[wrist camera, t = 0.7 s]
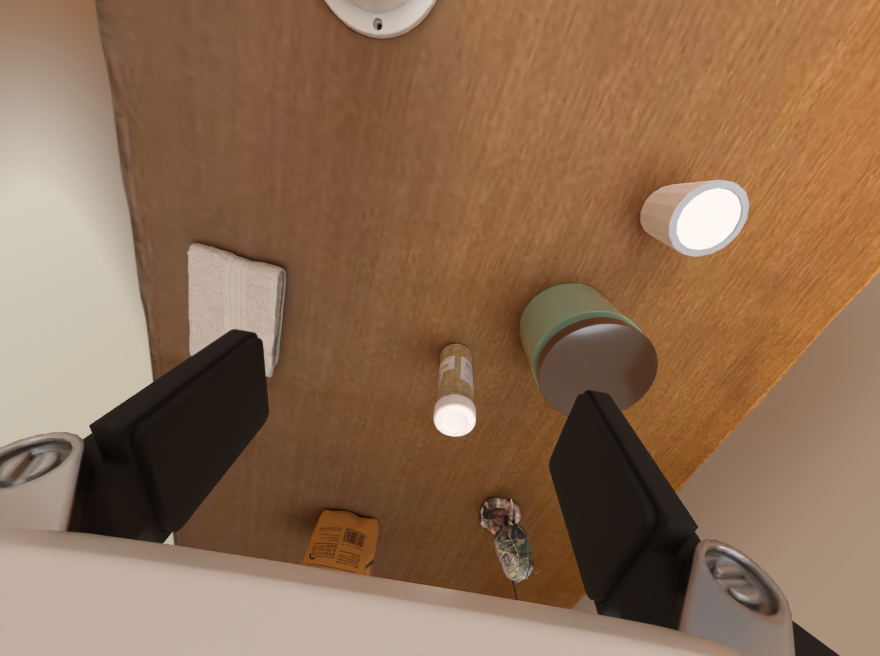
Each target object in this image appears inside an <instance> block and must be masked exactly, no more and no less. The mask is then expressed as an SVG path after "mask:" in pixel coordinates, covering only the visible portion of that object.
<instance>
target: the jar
mask: <svg viewBox="0 0 880 656" xmlns="http://www.w3.org/2000/svg"><path fill="white" fill-rule="evenodd" d="M519 335H520V340H521V342H522V345H523V348H524V351H525V354H526V357H527V360H528V362H529V365H530V368H531V371H532V374H533V377H534V379H535V382H536V383H537V385H538V387H539V388H540V391H541V394H542V395H543V397H544V399H545V400H546V401H547V403H548V404H549V405H550V406H551V407H552V408H554V409H555V410H557V411H558V412H560V413H562V414H564V415H567V416H569V414H570V412H571V409H572V407H573V405H574V402H575V400H576V398H577V396H578V395H579V394H583V393H584V392H585V391H586V390H592V391H598V392H604V393H608V394H609V395H610V396H611V397H612V399H613V400H614V402H615V403H616V405H617V406H618V408H619V409H620V411H621V412H622V411H624V410H626V409H627V408H629V407H631V406H632V405H634V404H635V403H636V402H638V401H639V400H640V399H641V398H642V397H643V396H644V395H645V394H646V392H647V391H648V390H649V388H650V387H651V385H652V383H653V381H654V379H655V376H656V373H657V368H658V359H657V354H656V351H655V348H654V346H653V345H652V343H651V342H650V340H649V339H648V338H647V337H646V336H645V335H644V334H643V333H642V332H641V330H640V329H639V327H638V326H637V325H636V324H635V323H634V322H633V321H631V320H630V319H629V318H628V317H627V316H626V315H625V314H624V313H622V312H621V311H620V310H619V309H618V308H617V307H616V306H614V305H613V304H612V303H611V302H610V301H609V300H608V299H607V298H605V297H604V296H603V295H602V294H601V293H600V292H599V291H597V290H596V289H594V288H592V287H590V286H587V285H583V284H578V283H566V284H560V285H556V286H553V287H550V288H548V289H546V290H544V291H543V292H541V293H539V294H538V295H537V296H536V297H534V298H533V299H532V300H531V301H530V302H529V304H528V305H527V306H526V308H525V310H524V311H523V313H522V316H521V319H520V323H519Z"/></svg>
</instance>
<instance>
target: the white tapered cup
mask: <svg viewBox="0 0 880 656" xmlns="http://www.w3.org/2000/svg"><path fill="white" fill-rule="evenodd" d="M748 210H749V201H748V198H747V195H746V191H745V190H743V189H742V188H741V187H740V186H739V185H738V184H736V183H735V182H730V181H724V180H714V181H703V182H692V183H681V184H672V185H667V186H663V187H661V188H660V189H658V190H656V191H655V192H653V193H652V194H651V195H650V196H649V197H648V199H647V200H646V201H645V202H644V205H643V207H642V209H641V212H640V223H641V225H642V228H643V230H644V231H645V232H647V233H648V234H649V235H651V236H652V237H654V238H656V239H658V240H659V241H661V242H663V243H664V244H666V245H668V246H670V247H671V248H673V249H675V250H677V251H678V252H680V253H682V254H684V255H689V256H695V257H698V256H703V255H708V254H712V253H714V252H716V251H718V250H720V249H722V248H723V247H725V246H727V245H728V244H729V243H730V242H731V241H732V240H733V239H734V238H735V237H736V236H737V235H738V234H739V233H740V231H741V229H742V227H743V226H744V224H745V222H746V220H747V216H748Z"/></svg>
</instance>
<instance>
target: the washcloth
mask: <svg viewBox="0 0 880 656" xmlns="http://www.w3.org/2000/svg"><path fill="white" fill-rule="evenodd" d="M187 254H188V256H189V257H188V268H189V269H188V274H189V279H188V283H189V292H188V293H189V299H188V300H189V301H188V304H189V324H190V328H189V329H190V331H189V332H190V342H189V344H190V345H189V348H190V352H189V353H190V355H191V356H193V355H194V354H196V353H197V352H199V351H200V350H202V349H203V348H205V347H206V346H208V345H209V344H211V343H212V342H214V341H215V340H217V339H218V338H219V337H221V336H222V335H224V334H225V333H227V332H228V331H230V330H232V329H238V330H244V331H249V332H254V333H256V334H257V336H258V338H260V339H262V341H263V348H264V360H265V372H266V377H271V376H272V375H273V372H274V371H273V369H274V367H275V366H276V364H277V362H278V358H279V351H280V337H281V331H282V322H283V308H284V298H285V289H286V271H285V270H284V269H283V268H280V267H278V266H275V265H272V264H267V263H264V262H257V261H250V260H248V259H244V258H242V257H238V256H236V255H235V254H234V253H230V252H227V251H224V250H220V249H218V248H214V247H212V246H211V247H210V246H206V245H202V244H199V243H193V244H192V245H191V246H190V247H189V251H187Z"/></svg>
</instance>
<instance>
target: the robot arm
mask: <svg viewBox="0 0 880 656" xmlns="http://www.w3.org/2000/svg"><path fill="white" fill-rule="evenodd" d="M325 1H326V3H327V5H328V6H329V7H330V8H331V10H332V11H333V12H334V13H335V15H336V16H337V17H338V18H339V19H341V20H342V21H343V22H344V23H345V24H346V25H347V26H348V27H350V28H352V29H353V30H355V31H356V32H358V33H360V34H363V35H366V36H368V37H372V38H381V39H385V38H393V37H397V36H400V35H402V34H405V33H407V32H409V31H410V30H412V29H413V28H414V27H416V26H417V25H419V24H420V23H421V21H422V20H423V19H424V18H425V17H426V16H427V15H428V14H429V12H430V11H431V9H432V8H433V6H434V5H435V3H436V2H437V0H325ZM378 25H382V28H381V29H380V30H378V29H377V27H378ZM268 414H269V407H268V395H267V383H266V372H265V360H264V348H263V341H262V339H260V338H258V336H257V334H256V333H254V332H249V331H244V330H238V329H232V330H230V331H228V332H227V333H225V334H224V335H222V336H221V337H219V338H218V339H217V340H215V341H214V342H212V343H211V344H209V345H208V346H206V347H205V348H203V349H202V350H200V351H199V352H197V353H196V354H194V355H193V356H191V357H190V358H188V359H187V360H185V361H184V362H182V363H181V364H179V365H178V366H177V367H175V368H174V369H172V370H171V371H169V372H168V373H166V374H165V375H163V376H162V377H160V378H159V379H157V380H156V381H154V382H153V383H151V384H150V385H148V386H147V387H145V388H144V389H142V390H141V391H140V392H138V393H137V394H135V395H134V396H132V397H131V398H129V399H128V400H126V401H125V402H123V403H122V404H120V405H119V406H117V407H116V408H114V409H113V410H112V411H110V412H109V413H107V414H105V415H104V416H103V417H101V418H100V419H98V420H97V421H95V422H94V423H92V424H91V425H90V429H91V431H92V434H90V435H89V436H87V437H86V438H85V439H81V438H80V437H79V436H78V435H75V434H71V433H67V432H66V433H65V432H61V433H60V432H57V433H56V432H55V433H54V432H53V433H47V434H40V435H35V436H32V437H28V438H25V439H21V440H18V441H15V442H13V443H10V444H8V445H6V446H4V447H1V448H0V656H839V655H838V654H837V653H835V652H834V651H833V650H831V649H830V648H828V647H827V646H826V645H824V644H823V643H822V642H820V641H819V640H818V639H816V638H815V637H814V636H812V635H811V634H810V633H808V632H806V630H804V629H803V628H802V627H800V626H799V625H797V624H796V623H795V622H793V621H792V613H791V610H790V607H789V604H788V601H787V599H786V597H785V596H784V594H783V592H782V591H781V589H780V587H779V586H778V585H777V584H776V583H775V581H774V580H773V579H772V578H771V577H770V575H769V574H768V573H767V572H766V571H765V570H763V569H762V568H761V567H760V566H759V565H758V564H757V563H756V562H755V561H753V560H752V559H751V558H749V557H748V556H747V555H745V554H744V553H742V552H741V551H739V550H737V549H735V548H734V547H732V546H730V545H728V544H726V543H723V542H720V541H717V540H707V539H706V540H703V541H700V539H699V537H698V536H697V534H696V533H695V530H696V529H697V528H698V526H697V524H696V523H695V521H694V520H693V518H692V517H691V515H690V514H689V512H688V511H687V509H686V508H685V506H684V505H683V504H682V502H681V500H680V499H679V497H678V496H677V494H676V493H675V491H674V490H673V488H672V487H671V485H670V484H669V482H668V481H667V479H666V478H665V476H664V475H663V473H662V472H661V470H660V469H659V467H658V466H657V464H656V463H655V461H654V460H653V459H652V457H651V456H650V454H649V453H648V451H647V450H646V448H645V447H644V445H643V444H642V442H641V441H640V439H639V438H638V436H637V435H636V433H635V432H634V430H633V429H632V427H631V426H630V424H629V423H628V421H627V420H626V418H625V417H624V415H623V414H622V412H621V411H620V409H619V408H618V406H617V405H616V403H615V402H614V400H613V399H612V397H611V396H610V395H609V394H608V393H604V392H598V391H592V390H586V391H585V392H584V393H583V394H579V395H578V396H577V398H576V400H575V402H574V405H573V407H572V409H571V412H570V414H569V416H568V419H567V421H566V423H565V426H564V428H563V430H562V433H561V435H560V437H559V440H558V442H557V444H556V447H555V449H554V451H553V454H552V456H551V458H550V464H549V468H550V473H551V476H552V480H553V483H554V487H555V490H556V493H557V497H558V500H559V503H560V507H561V510H562V514H563V517H564V520H565V524H566V527H567V530H568V534H569V537H570V541H571V544H572V547H573V551H574V554H575V557H576V561H577V564H578V568H579V571H580V574H581V578H582V581H583V584H584V588H585V591H586V594H587V595H588V597H589V598H590V599H591V600H594V603H595V606H596V609H597V612H598V614H593V613H588V612H583V611H577V610H572V609H566V608H560V607H554V606H548V605H542V604H536V603H530V602H524V601H518V600H512V599H506V598H500V597H494V596H488V595H482V594H476V593H470V592H464V591H458V590H452V589H446V588H440V587H434V586H428V585H422V584H415V583H409V582H403V581H397V580H391V579H385V578H379V577H372V576H366V575H360V574H354V573H348V572H341V571H335V570H329V569H323V568H316V567H310V566H304V565H298V564H291V563H285V562H278V561H272V560H266V559H259V558H253V557H246V556H240V555H234V554H227V553H221V552H214V551H208V550H201V549H195V548H189V547H182V546H176V545H169V544H163V543H164V542H165V540H166V539H167V538H168V536H169V535H170V534H171V533H172V532H176V531H178V530H180V529H181V528H182V527H183V526H184V525H185V524H186V522H187V521H188V520H189V518H190V517H191V516H192V515H193V513H194V512H195V511H196V510H197V508H198V507H199V506H200V505H201V503H202V502H203V501H204V499H205V498H206V497H207V496H208V494H209V493H210V492H211V491H212V489H213V488H214V487H215V486H216V484H217V483H218V482H219V480H220V479H221V478H222V477H223V475H224V474H225V473H226V472H227V470H228V469H229V468H230V467H231V465H232V464H233V463H234V462H235V460H236V459H237V458H238V456H239V455H240V454H241V453H242V451H243V450H244V449H245V448H246V446H247V445H248V444H249V443H250V441H251V440H252V439H253V437H254V436H255V435H256V434H257V432H258V431H259V430H260V429H261V427H262V426H263V425H264V423H265V422H266V420H267V417H268Z"/></svg>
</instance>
